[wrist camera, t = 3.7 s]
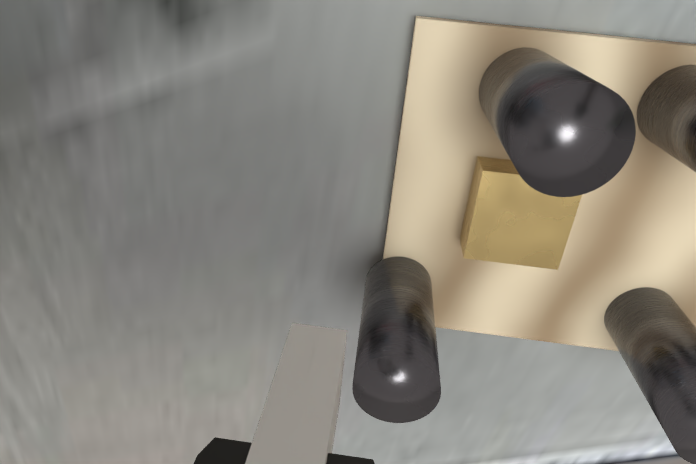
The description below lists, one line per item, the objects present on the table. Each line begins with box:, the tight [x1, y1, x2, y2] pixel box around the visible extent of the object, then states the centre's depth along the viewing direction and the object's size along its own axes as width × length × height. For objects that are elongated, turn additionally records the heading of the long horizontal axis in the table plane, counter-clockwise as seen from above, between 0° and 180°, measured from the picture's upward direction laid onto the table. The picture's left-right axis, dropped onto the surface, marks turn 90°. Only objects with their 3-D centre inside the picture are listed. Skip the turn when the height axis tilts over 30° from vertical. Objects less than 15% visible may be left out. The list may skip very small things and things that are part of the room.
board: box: [383, 16, 696, 351], centre depth 25 cm, size 28×16×1 cm, turn 85°
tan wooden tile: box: [460, 156, 582, 270], centre depth 24 cm, size 4×4×2 cm
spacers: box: [353, 47, 696, 464], centre depth 21 cm, size 22×15×8 cm
